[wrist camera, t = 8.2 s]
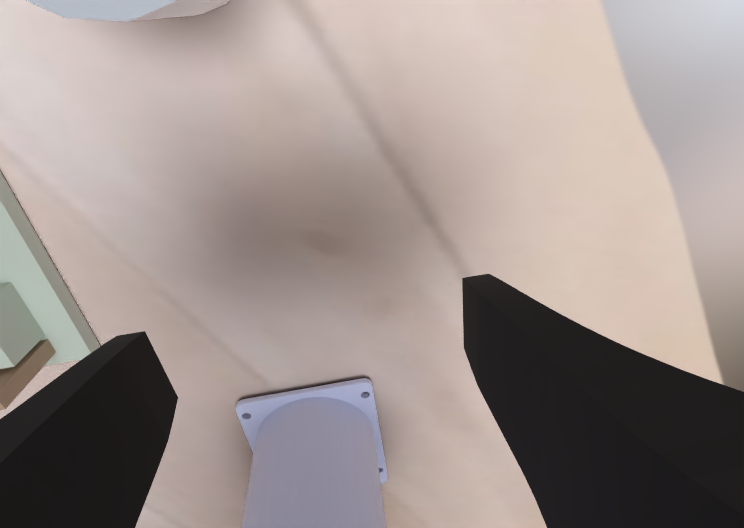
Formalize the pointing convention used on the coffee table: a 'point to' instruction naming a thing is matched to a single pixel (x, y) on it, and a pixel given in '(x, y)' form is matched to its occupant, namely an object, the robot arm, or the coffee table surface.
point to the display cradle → (33, 305)
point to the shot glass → (128, 8)
